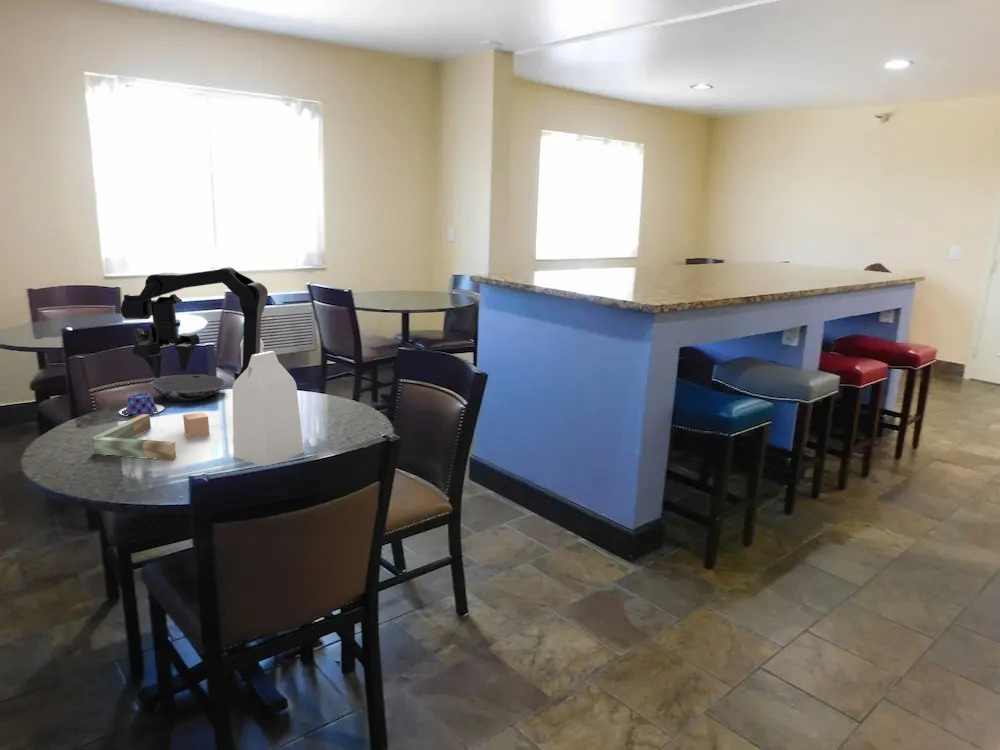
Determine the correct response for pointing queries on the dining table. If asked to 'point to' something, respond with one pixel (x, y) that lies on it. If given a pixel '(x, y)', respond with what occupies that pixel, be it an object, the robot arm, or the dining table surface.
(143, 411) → the pudding
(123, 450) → the arena
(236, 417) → the milk
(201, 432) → the cube
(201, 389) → the board
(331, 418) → the dining table surface
